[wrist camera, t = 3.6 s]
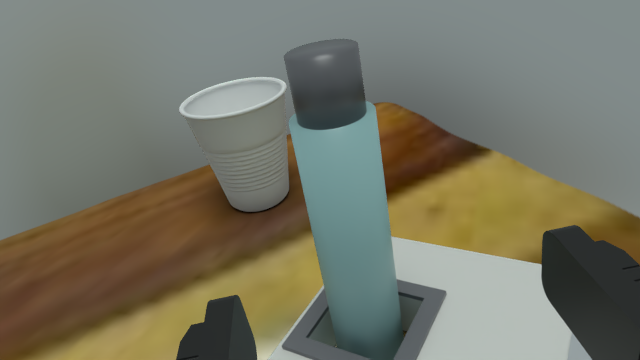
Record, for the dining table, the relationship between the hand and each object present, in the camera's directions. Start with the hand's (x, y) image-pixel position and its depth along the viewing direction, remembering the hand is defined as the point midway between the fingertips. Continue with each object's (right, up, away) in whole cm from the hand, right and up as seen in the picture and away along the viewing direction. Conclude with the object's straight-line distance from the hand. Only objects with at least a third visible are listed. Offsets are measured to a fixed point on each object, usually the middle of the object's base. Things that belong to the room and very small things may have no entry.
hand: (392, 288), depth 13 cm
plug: (+1, -8, +17) cm, 19 cm away
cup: (-8, +1, +37) cm, 38 cm away
